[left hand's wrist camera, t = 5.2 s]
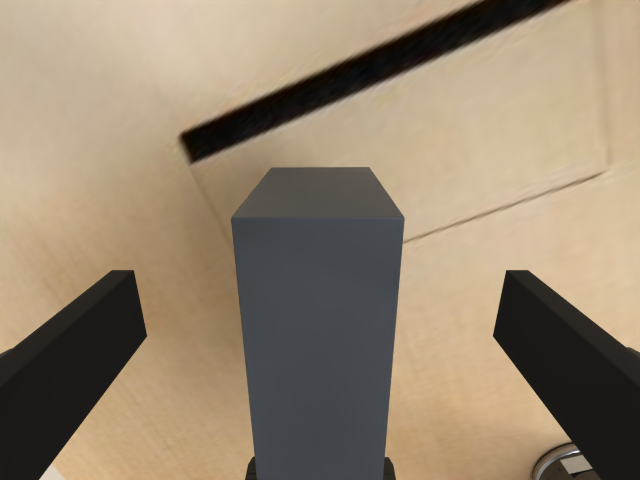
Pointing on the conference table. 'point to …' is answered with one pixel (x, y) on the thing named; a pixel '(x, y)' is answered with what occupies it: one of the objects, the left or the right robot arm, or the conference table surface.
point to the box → (318, 320)
